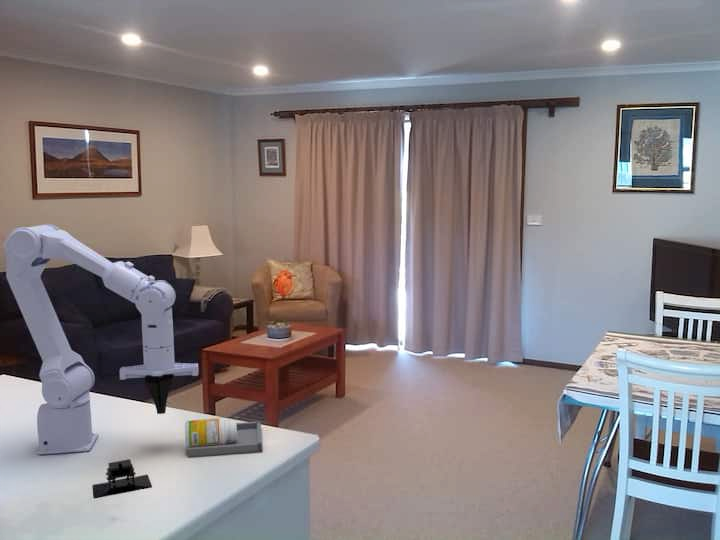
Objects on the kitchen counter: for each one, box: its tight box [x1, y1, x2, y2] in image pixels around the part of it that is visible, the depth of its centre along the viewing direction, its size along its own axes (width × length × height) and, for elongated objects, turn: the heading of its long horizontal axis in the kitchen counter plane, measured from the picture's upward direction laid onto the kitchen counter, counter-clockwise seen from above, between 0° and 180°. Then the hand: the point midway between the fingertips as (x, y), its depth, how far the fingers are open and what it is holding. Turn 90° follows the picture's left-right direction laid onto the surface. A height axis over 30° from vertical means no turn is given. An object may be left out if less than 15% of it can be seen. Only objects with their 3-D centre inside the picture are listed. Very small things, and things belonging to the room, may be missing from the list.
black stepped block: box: [91, 458, 153, 499], centre depth 113 cm, size 12×7×5 cm, turn 115°
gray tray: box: [186, 421, 263, 458], centre depth 132 cm, size 14×12×2 cm
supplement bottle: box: [184, 417, 237, 450], centre depth 129 cm, size 5×5×10 cm
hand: (161, 412), depth 129 cm, fingers closed
